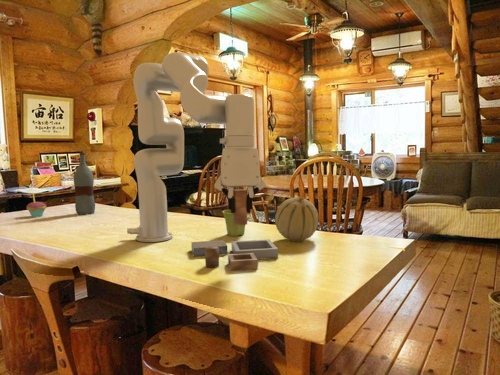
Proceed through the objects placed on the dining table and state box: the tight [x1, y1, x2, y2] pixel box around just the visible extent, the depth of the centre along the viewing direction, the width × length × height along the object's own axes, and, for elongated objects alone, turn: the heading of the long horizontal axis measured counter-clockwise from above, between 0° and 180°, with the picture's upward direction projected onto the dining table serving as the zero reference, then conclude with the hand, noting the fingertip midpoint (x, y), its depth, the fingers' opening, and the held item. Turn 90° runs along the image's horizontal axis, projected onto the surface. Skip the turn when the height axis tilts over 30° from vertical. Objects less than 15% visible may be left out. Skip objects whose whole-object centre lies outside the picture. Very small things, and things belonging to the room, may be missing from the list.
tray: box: [231, 239, 279, 260], centre depth 122 cm, size 12×12×3 cm
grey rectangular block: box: [191, 239, 228, 258], centre depth 125 cm, size 10×8×3 cm
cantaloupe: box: [274, 196, 320, 242], centre depth 138 cm, size 15×15×15 cm
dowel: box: [233, 189, 248, 226], centre depth 109 cm, size 4×4×9 cm
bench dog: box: [204, 246, 220, 269], centre depth 111 cm, size 4×4×5 cm
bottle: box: [73, 152, 96, 216], centre depth 202 cm, size 9×9×30 cm
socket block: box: [227, 253, 259, 272], centre depth 110 cm, size 7×7×2 cm
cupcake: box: [26, 193, 47, 218], centre depth 197 cm, size 9×8×12 cm
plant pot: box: [221, 209, 249, 237], centre depth 149 cm, size 9×9×9 cm
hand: (240, 211), depth 109 cm, fingers closed on dowel, 3 cm apart
